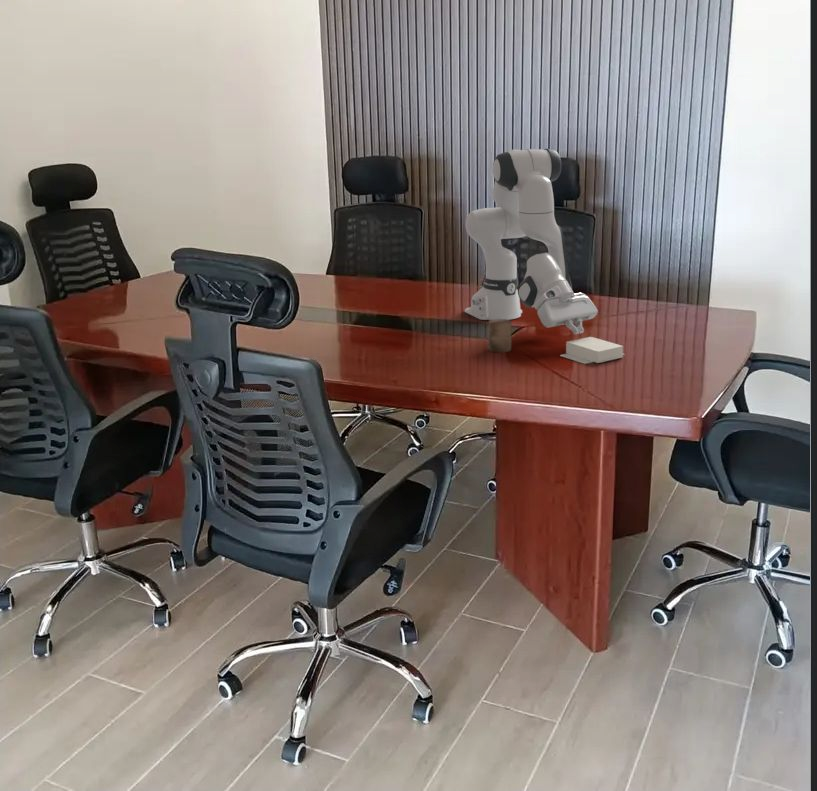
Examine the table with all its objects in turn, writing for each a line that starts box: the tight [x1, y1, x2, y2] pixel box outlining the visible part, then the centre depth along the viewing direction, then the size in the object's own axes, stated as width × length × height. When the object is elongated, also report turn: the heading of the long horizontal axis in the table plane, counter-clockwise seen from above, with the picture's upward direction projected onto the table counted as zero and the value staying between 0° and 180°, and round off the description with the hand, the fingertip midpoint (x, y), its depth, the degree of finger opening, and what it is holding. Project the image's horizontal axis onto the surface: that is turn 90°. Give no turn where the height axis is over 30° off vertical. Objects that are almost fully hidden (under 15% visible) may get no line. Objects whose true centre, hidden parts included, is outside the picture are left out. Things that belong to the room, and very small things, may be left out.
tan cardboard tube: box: [488, 319, 512, 354], centre depth 276 cm, size 7×7×9 cm
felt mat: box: [559, 353, 625, 365], centre depth 268 cm, size 11×16×1 cm
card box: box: [565, 336, 624, 364], centre depth 267 cm, size 4×10×14 cm
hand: (579, 332), depth 271 cm, fingers closed
